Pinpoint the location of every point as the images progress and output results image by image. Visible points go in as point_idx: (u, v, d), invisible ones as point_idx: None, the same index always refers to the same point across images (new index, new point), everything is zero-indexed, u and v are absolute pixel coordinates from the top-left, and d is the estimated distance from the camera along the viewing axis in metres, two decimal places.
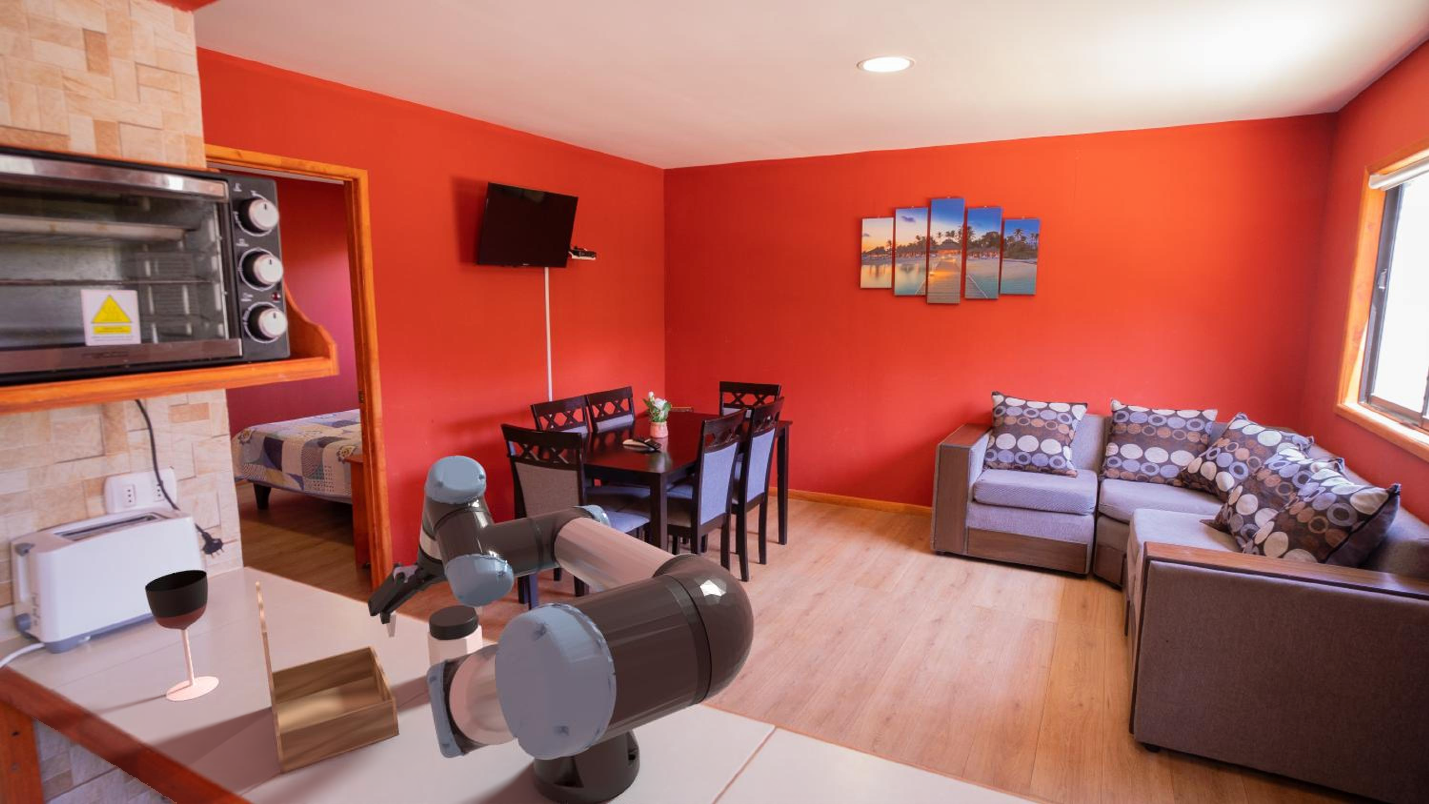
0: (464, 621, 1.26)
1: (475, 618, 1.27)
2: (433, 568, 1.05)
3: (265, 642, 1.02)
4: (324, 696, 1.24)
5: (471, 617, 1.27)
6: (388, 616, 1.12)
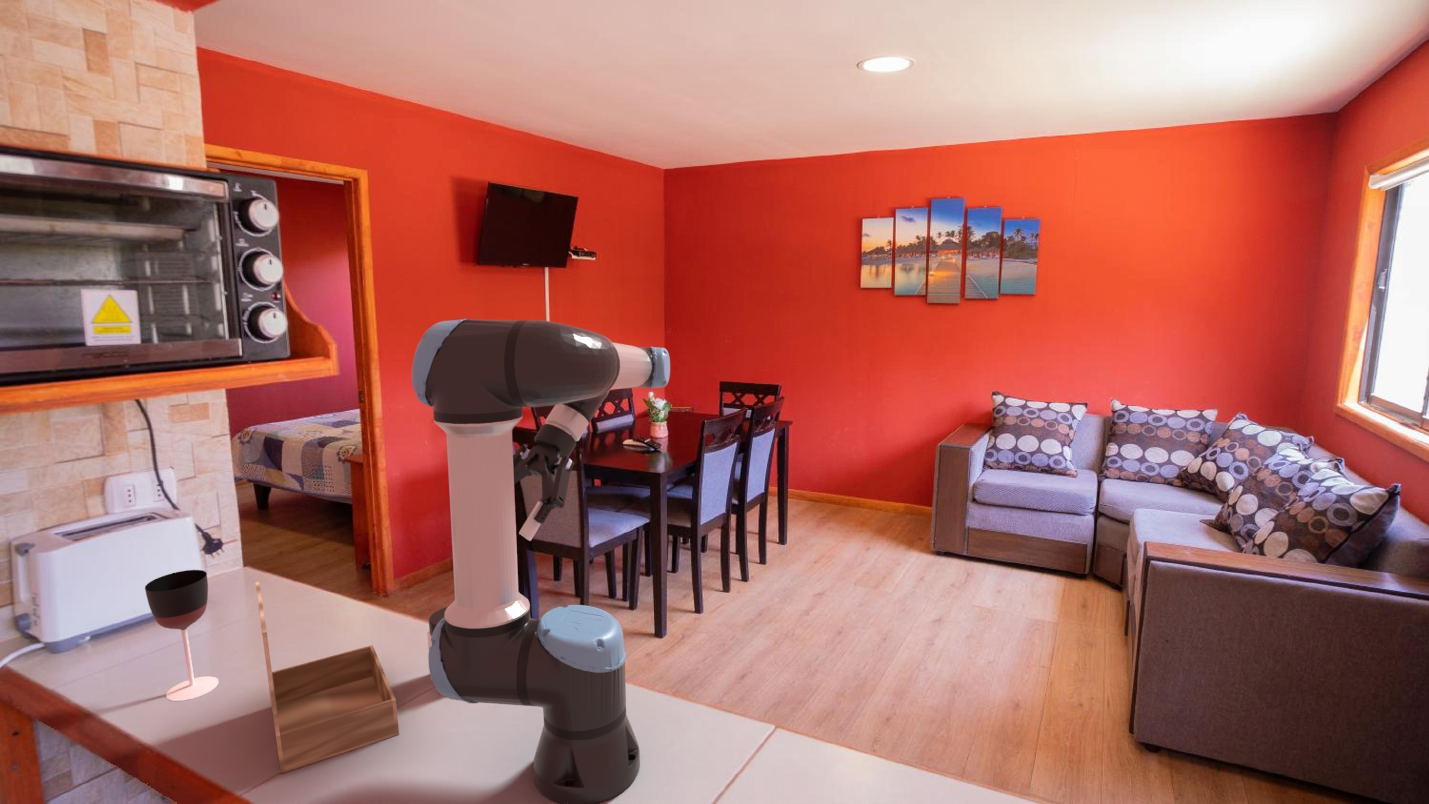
0: None
1: None
2: None
3: (265, 642, 1.02)
4: (324, 696, 1.24)
5: None
6: None
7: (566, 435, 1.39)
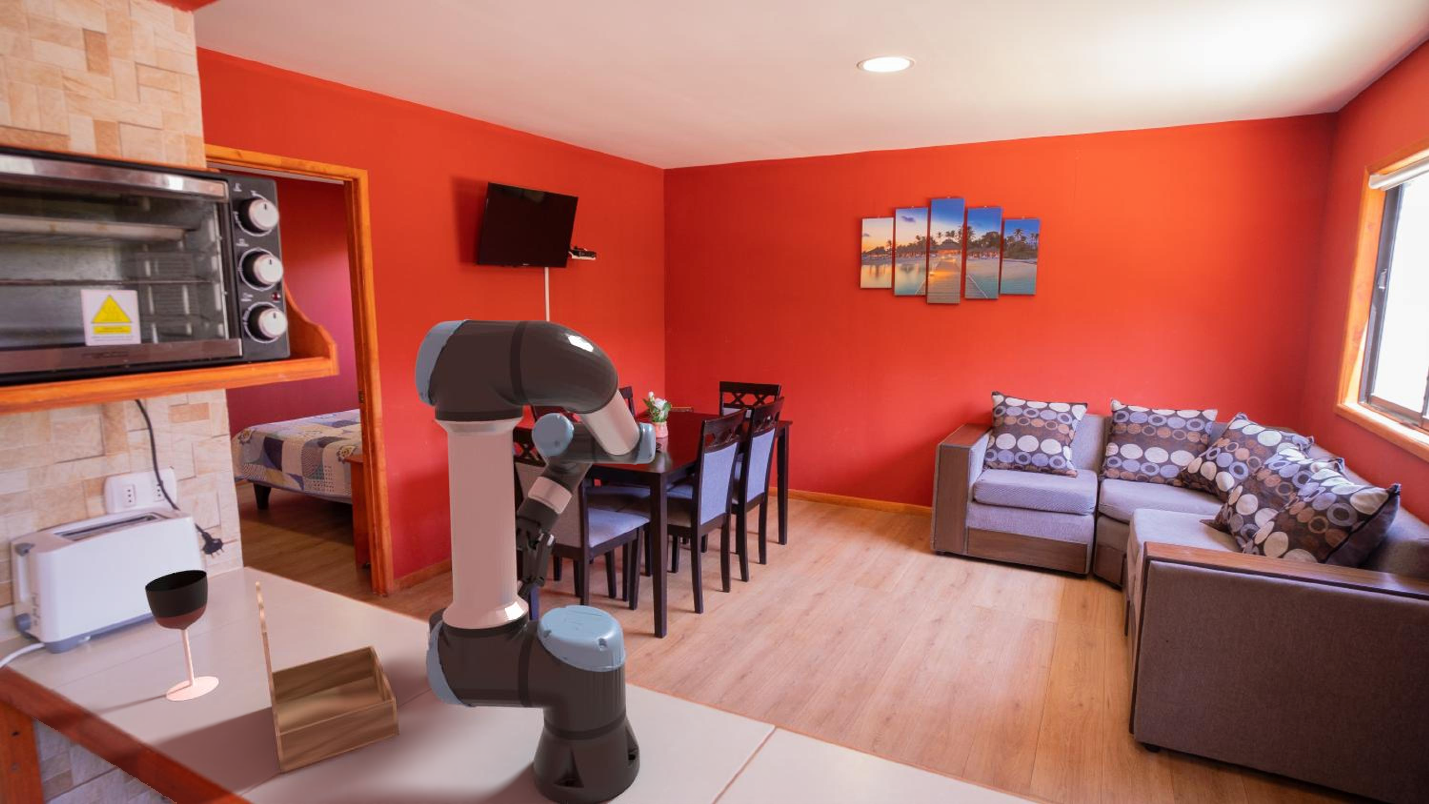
0: None
1: None
2: None
3: (265, 642, 1.02)
4: (324, 696, 1.24)
5: None
6: None
7: (548, 510, 1.39)
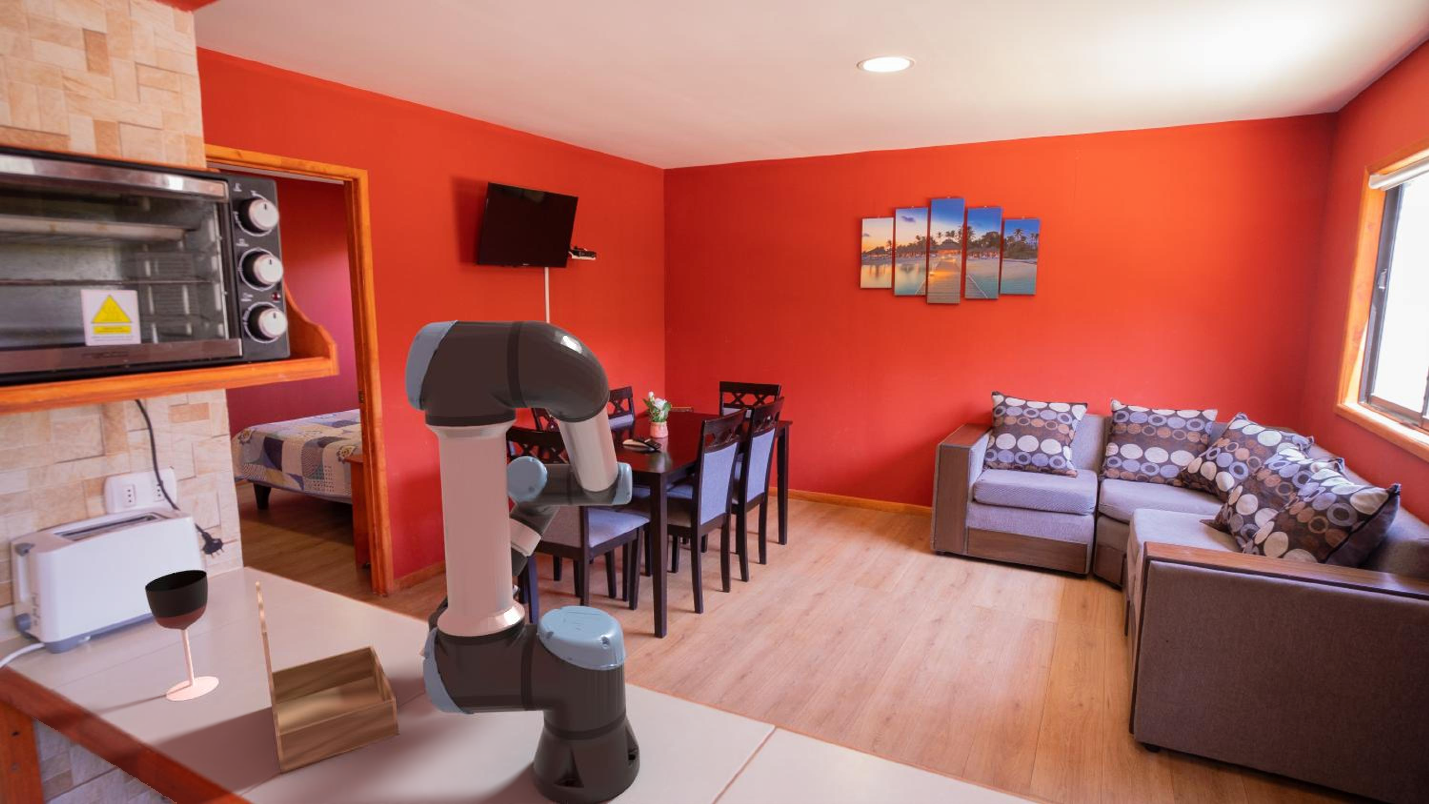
0: None
1: None
2: None
3: (265, 642, 1.02)
4: (324, 696, 1.24)
5: None
6: None
7: (516, 553, 1.33)
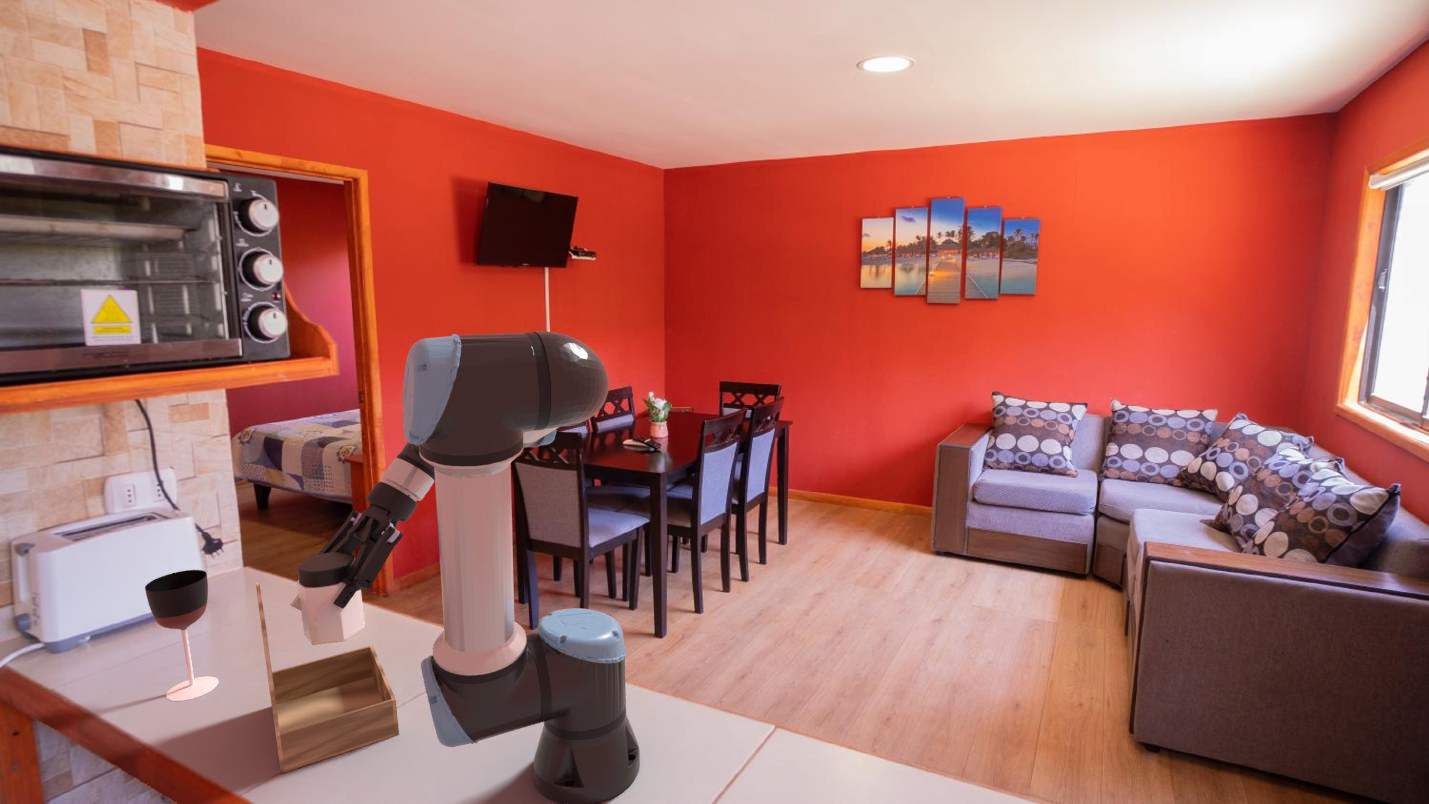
0: (335, 567, 1.13)
1: (349, 564, 1.15)
2: None
3: (265, 642, 1.02)
4: (324, 696, 1.24)
5: (344, 563, 1.14)
6: None
7: (401, 495, 1.20)
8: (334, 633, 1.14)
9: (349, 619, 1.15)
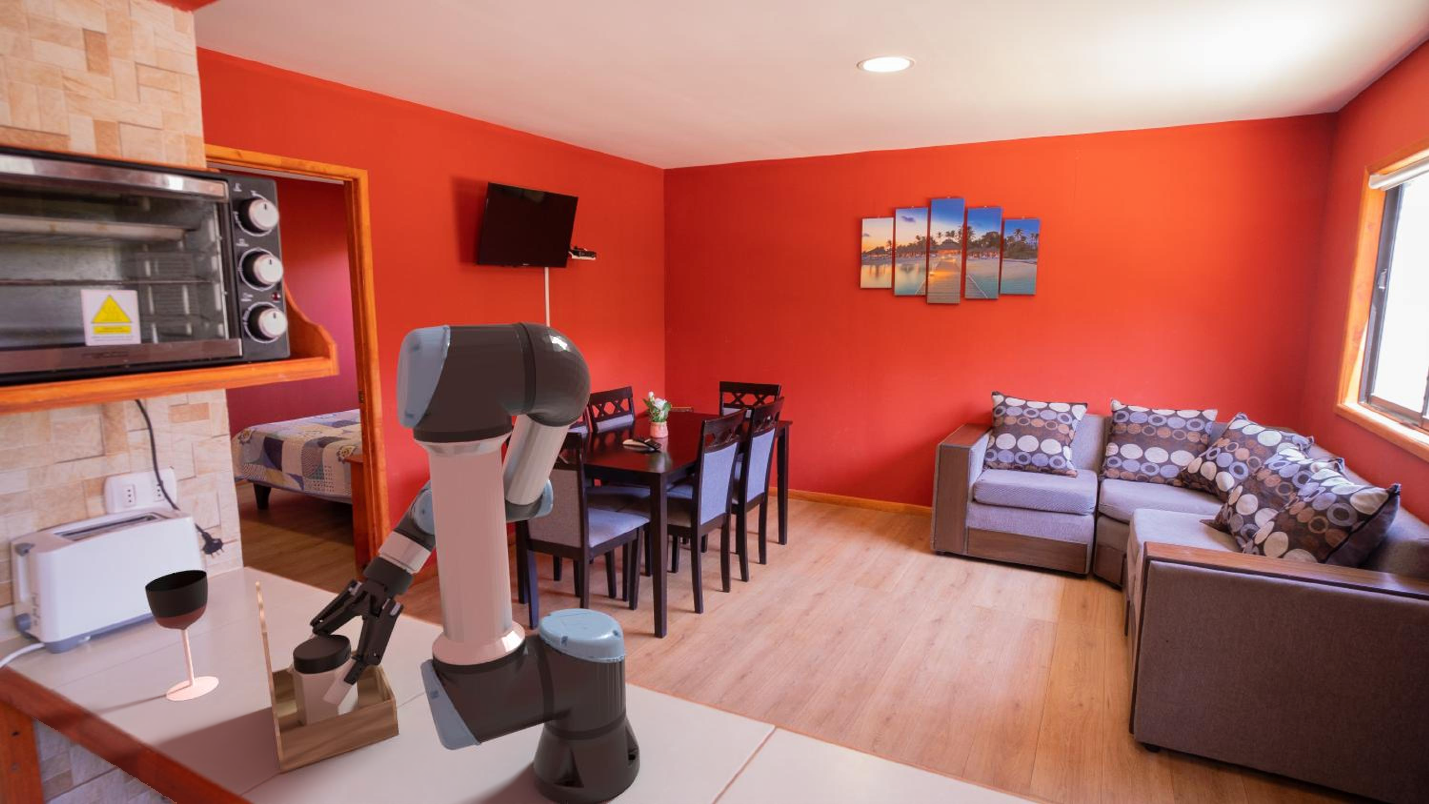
0: (332, 652, 1.15)
1: (346, 648, 1.17)
2: None
3: (265, 642, 1.02)
4: None
5: (341, 647, 1.16)
6: None
7: (398, 571, 1.21)
8: None
9: (345, 703, 1.17)
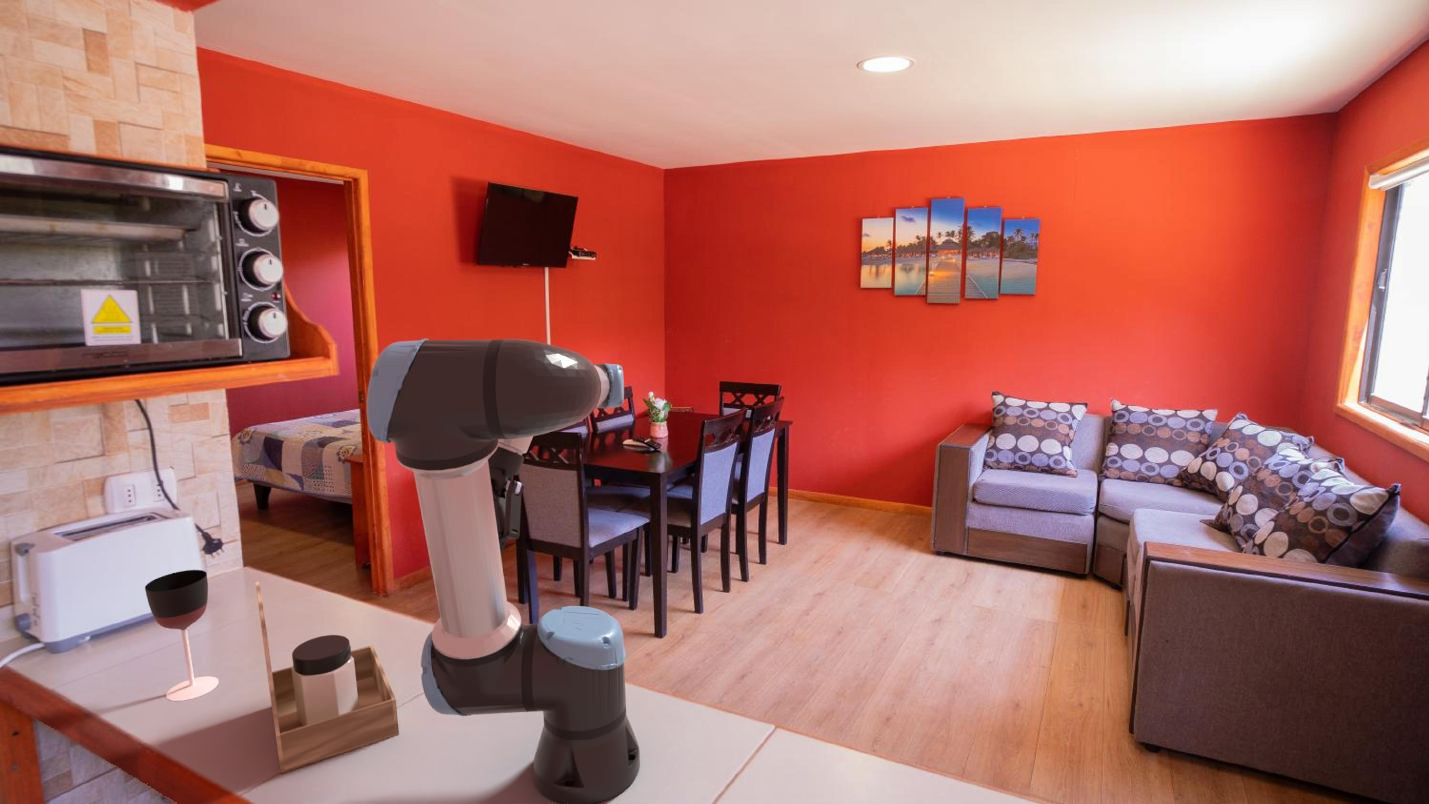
0: (332, 653, 1.15)
1: (345, 649, 1.16)
2: None
3: (265, 642, 1.02)
4: None
5: (340, 649, 1.16)
6: None
7: (511, 455, 1.29)
8: None
9: (345, 703, 1.17)
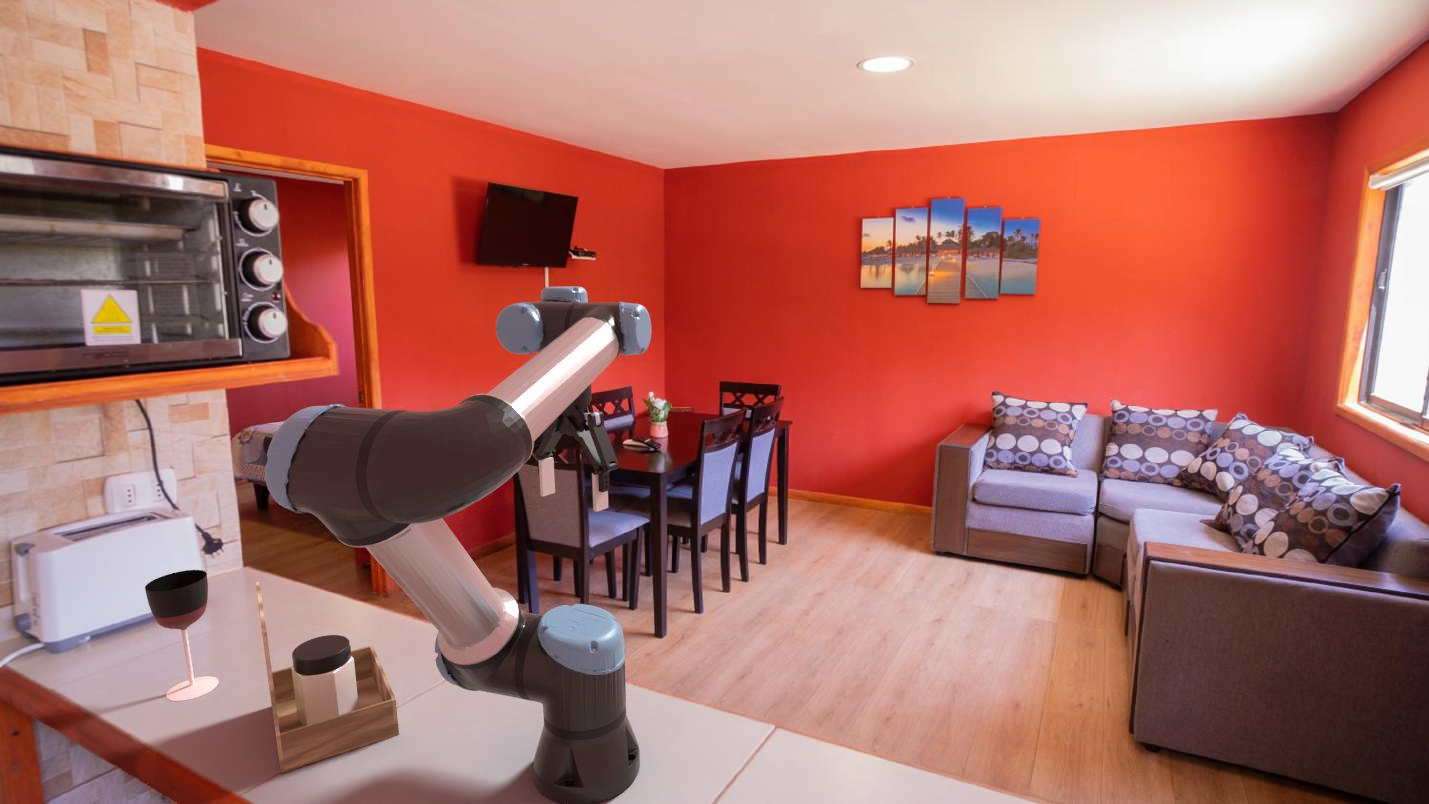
0: (332, 653, 1.15)
1: (345, 649, 1.16)
2: None
3: (265, 642, 1.02)
4: None
5: (340, 649, 1.16)
6: None
7: None
8: None
9: (345, 703, 1.17)
